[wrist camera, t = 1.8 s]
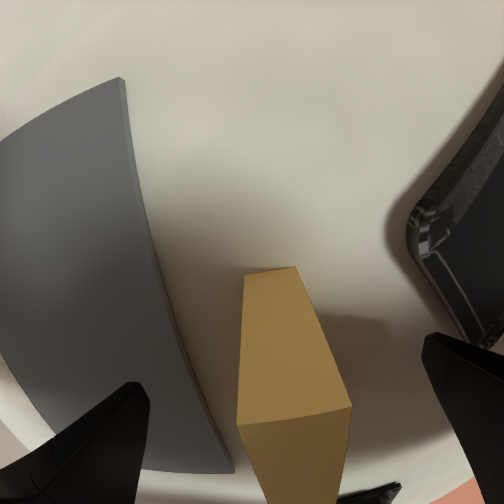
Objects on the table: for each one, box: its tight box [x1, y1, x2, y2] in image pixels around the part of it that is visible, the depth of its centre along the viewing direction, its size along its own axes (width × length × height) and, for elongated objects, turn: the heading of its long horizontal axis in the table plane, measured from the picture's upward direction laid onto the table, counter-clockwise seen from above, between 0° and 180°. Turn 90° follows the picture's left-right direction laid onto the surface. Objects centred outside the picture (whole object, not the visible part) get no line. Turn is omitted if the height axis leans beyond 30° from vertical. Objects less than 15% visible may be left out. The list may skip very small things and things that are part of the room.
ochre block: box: [236, 267, 352, 504], centre depth 6 cm, size 6×2×5 cm, turn 9°
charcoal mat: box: [0, 77, 235, 474], centre depth 8 cm, size 16×10×1 cm, turn 9°
